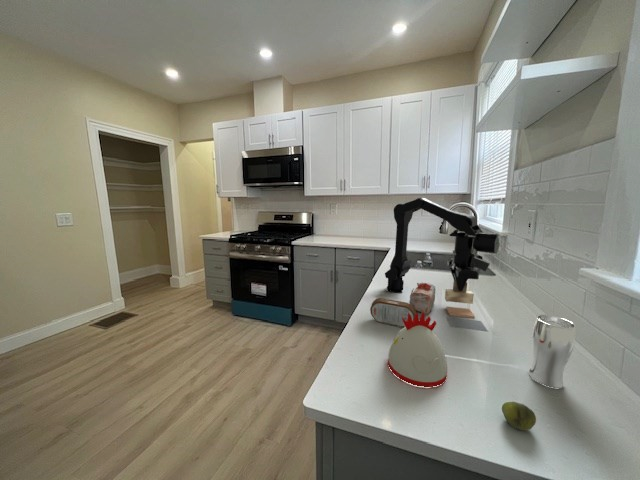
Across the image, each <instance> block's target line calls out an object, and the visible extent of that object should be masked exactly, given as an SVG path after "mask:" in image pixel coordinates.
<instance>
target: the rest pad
mask: <svg viewBox="0 0 640 480" xmlns="http://www.w3.org/2000/svg"><path fill="white" fill-rule="evenodd" d="M445 319H446V321H447V322H448V325H449V327H450V328H459V329H467V330H474V331H482V332H489V330H488V329H487V328H486V326H485V325H484V323H483V322H482V321H481V320H476V319H468V318H461V317H460V318H459V317H452V316H446V317H445Z"/></svg>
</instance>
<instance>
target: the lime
mask: <svg viewBox="0 0 640 480" xmlns="http://www.w3.org/2000/svg"><path fill="white" fill-rule="evenodd" d="M501 410H502V411H501V412H502V414H503V417H504V419H505V420H506V421H507V422H508V424H510V425H511V426H512V427H513V426H514V427H513V428H515V427H516V428H515V429H518V428H519V430H521V429H522V431H528V430H531V429H532V428H533V427H534V426H535V425H536V423H537V417H536V416H537V415H535V412H534V411H533V410H532V409H531V408H530V407H528V406H527V405H526V404H523V403H520V402H517V401H508V402H506V401H505V402H504V403H503V404H502V406H501Z"/></svg>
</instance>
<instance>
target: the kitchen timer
mask: <svg viewBox="0 0 640 480" xmlns="http://www.w3.org/2000/svg"><path fill="white" fill-rule="evenodd" d="M425 315H426V314H424V313H423V312H421V315H420V318H419V313H418V311H416V314H415V317H414V320H413V321H412V318H411V315H410V314H409V313H408V319H407V321H405V320H404V319H403V317H402V320H403V322H404V324H405V327H404V328H402V327H401V329H400V330H399V331H398V333H397V334H396V335H395V337H394V338H393V340H392V343H391V345H390V347H389V349H388V350H389V351H388V357H387V365H389V366H388V368H389V367H390V369H391V370H392V372H393V373H394V374H395V375H396V376H397V377H399V378H400V379H402V380H404V381H406V382H408V383H411V384H413V385H417V386H424V387H433V386H437V385H440V384H442V383H443V382H444V381H445V380H447V378H446V377H447V376H448V363H447V359H446V355H445V351H444V347H443V345H442V343H441V340H440V339H439V337H438V336H437V335H436V333H435V331H433V330H434V329H435V328H436V326H437V322H436V320H433V322H431V319H432V318H431V317H430V316H427V317H425ZM430 323H431V324H430ZM390 369H389V370H390ZM392 372H391V373H392ZM393 373H392V374H393ZM397 377H396V378H397ZM445 382H446V381H445ZM445 382H444V383H445ZM444 383H443V384H444ZM443 384H442V385H443Z"/></svg>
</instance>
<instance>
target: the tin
mask: <svg viewBox="0 0 640 480" xmlns="http://www.w3.org/2000/svg"><path fill="white" fill-rule="evenodd" d="M369 311H370V315H371V317H372V318H373V320H374V321H376V322H377V323H380V324H384V325H388V324H389V326H393V325H394V326H395V327H397V326H398V328H402V327H405V324H404V322H403V320H402V317H403V319H404V320H405V321H407V319H408V313H409V314H410V315H411V318H412V321H413V320H414V317H415V314H416V312H417V311H415V309H414V307H413V306H412V305H410V302H409V303H408V302H405V301H401V300H395V299H389V298H383V297H380V298H375V299H374V300H373V301H372V303H371V305H370V309H369Z"/></svg>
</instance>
